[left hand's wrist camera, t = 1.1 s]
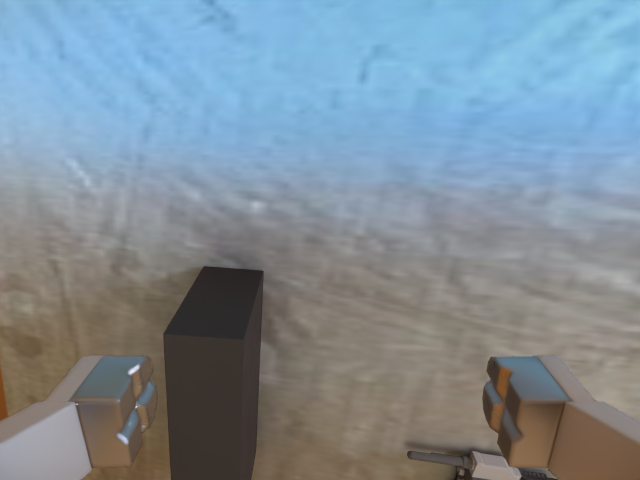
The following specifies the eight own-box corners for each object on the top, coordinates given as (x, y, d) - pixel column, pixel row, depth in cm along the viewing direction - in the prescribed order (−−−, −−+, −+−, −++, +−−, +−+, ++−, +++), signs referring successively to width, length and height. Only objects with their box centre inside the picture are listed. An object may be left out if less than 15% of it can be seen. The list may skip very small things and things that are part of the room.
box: (203, 266, 44) (163, 333, 33) (263, 270, 45) (243, 339, 33) (206, 447, 53) (174, 550, 42) (255, 451, 53) (238, 554, 42)
